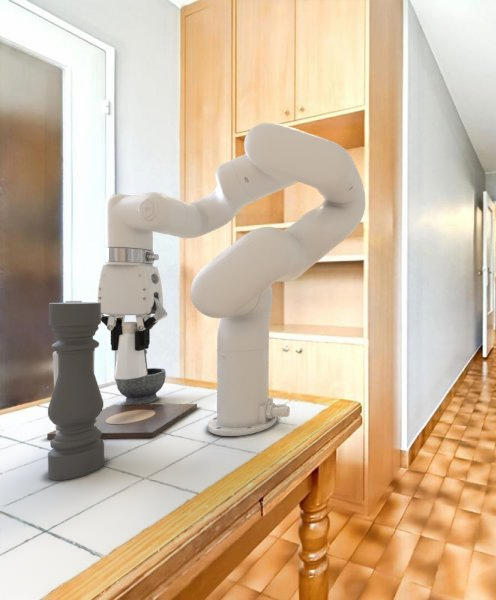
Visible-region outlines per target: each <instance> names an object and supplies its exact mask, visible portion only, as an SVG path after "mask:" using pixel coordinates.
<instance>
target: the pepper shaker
mask: <svg viewBox="0 0 496 600" xmlns="http://www.w3.org/2000/svg"><path fill="white" fill-rule="evenodd" d="M122 327H123V332H122V333H123V334H122V335H119V342H118V350H116V358H115V366H114V376H113V377H114V378H115V380H116V379H133V378H140V377H143V376H146V375H147V371H146V363H145V355H144V350H141V351H136V350H135V331H138V326H137V321H124V323H122Z"/></svg>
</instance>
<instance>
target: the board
mask: <svg viewBox="0 0 496 600" xmlns="http://www.w3.org/2000/svg"><path fill="white" fill-rule="evenodd" d="M197 409H198V404H197V403H154V404H153V403H146V404H126V403H125V404H123V403H122V404H119V403H118V404H112V405H110V406H107V407H106V408H103V409H102V411H101V413H100V414H99V415H98V416H97V417H96V418H95V419H96V423H95V424H94V426H96V427H97V428H98V429H99V430H100V431H101V433H102V436H101V437H100V438H99V439H152V438H154V437H155V436H158V434H160V433H162V432H163V431H165V430H166V429H168V428H169V427H171V426H172V425H174V424H175V423H177V422H179V421H180V420H182V419H183V418H184V417H186V416H187V415H190V413H192V412H194V411H195V410H197ZM55 435H56V429H55V430H53V431H50V432H48V433H47V434H46V439H47V440H53V439H54V437H55Z"/></svg>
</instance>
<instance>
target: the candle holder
mask: <svg viewBox="0 0 496 600" xmlns="http://www.w3.org/2000/svg"><path fill="white" fill-rule="evenodd" d="M101 324H102V321H101V303H98V302H93V301H90V302H87V301H85V302H84V301H82V302H68V303H65V302H49V303H48V326H49V327H51V332H52V333H53V334H54V335H55V337H56V338H57V341H56V342H54V343H53V344H51V350H52V351H53V352H55V351H56V353H57V354H58V377H57V380H56V384H55V387H54V386H53V391H52V394H51V398H50V401H49V404H48V408H47V416H48V418H49V420H50V421H51V423H52V424H53V425H55V430H56V429H57V430H58V431H59V432H58V433H57V434H56V435H55V437H54V439H50V444H49V445H50V448H52V449H51V450H49V451H48V452H47V473H48V474H47V475H48V477H47V478H48V479H49V480H51V481H66V480H67V481H68V480H73V479H77V478H81V477H85V476H86V475H90V474H91V473H94V472H96V471H97V470H99V469H101V468H102V467H103V466H104V464H105V441H104V439H102V438H100V437H101V436H102V433H101V431H100V430H99V429H98V428H97V427H96V426H94V424H95V423H96V419H95V418H96V417H97V416H98V415H99V414H100V413H101V411H102V410H103V409H104V399H103V396H102V393H101V390H100V387H99V384H98V381H97V377H96V375H95V370H94V371H93V351H96V349H97V348H98V347H99V346H100V342H99V341H98V340H96V339H94V336H95V335H96V332H97V331H98V330H99V325H101ZM56 425H57V426H56Z"/></svg>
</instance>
